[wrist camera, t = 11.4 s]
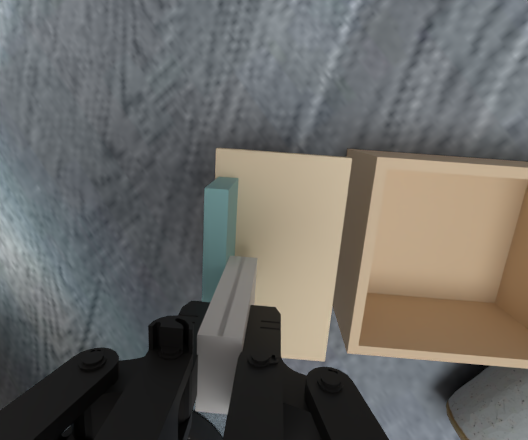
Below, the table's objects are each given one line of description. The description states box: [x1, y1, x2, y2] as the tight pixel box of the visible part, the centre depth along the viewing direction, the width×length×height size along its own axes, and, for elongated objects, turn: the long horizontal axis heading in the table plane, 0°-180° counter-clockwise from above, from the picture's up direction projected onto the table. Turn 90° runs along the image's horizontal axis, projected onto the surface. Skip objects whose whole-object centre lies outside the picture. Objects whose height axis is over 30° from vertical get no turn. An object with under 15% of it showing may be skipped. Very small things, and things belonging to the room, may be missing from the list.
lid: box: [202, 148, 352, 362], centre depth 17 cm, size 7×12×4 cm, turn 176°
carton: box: [332, 149, 528, 369], centre depth 23 cm, size 14×12×8 cm
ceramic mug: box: [446, 366, 528, 440], centre depth 27 cm, size 11×8×8 cm
